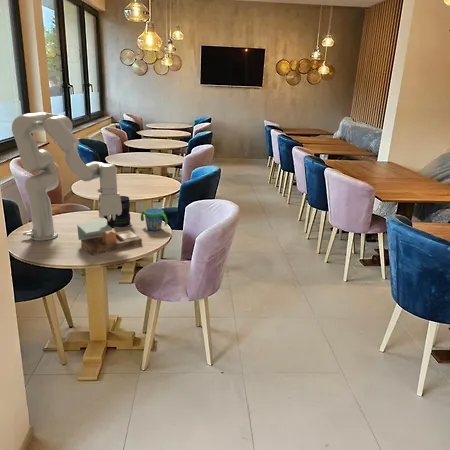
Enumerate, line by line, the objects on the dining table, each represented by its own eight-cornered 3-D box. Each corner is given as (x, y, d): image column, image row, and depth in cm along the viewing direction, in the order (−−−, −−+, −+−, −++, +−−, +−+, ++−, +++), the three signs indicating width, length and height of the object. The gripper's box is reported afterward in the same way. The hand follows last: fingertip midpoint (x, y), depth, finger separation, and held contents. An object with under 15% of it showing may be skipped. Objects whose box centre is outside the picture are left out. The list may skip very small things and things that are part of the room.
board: (91, 255, 188) (90, 248, 187) (81, 245, 198) (80, 239, 197) (141, 244, 202) (141, 238, 201) (130, 235, 212) (129, 229, 211)
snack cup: (171, 229, 223) (171, 211, 220) (159, 234, 215) (159, 216, 211) (149, 223, 230) (148, 206, 227) (136, 228, 222) (135, 210, 218)
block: (106, 246, 196) (105, 234, 194) (102, 242, 200) (102, 231, 197) (116, 244, 199) (116, 232, 196) (112, 240, 202) (112, 229, 200)
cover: (87, 248, 186) (86, 233, 184) (78, 239, 196) (77, 224, 193) (113, 243, 193) (112, 228, 190) (103, 234, 203) (102, 220, 200)
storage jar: (108, 225, 225) (107, 199, 220) (118, 220, 234) (116, 194, 229) (125, 228, 222) (123, 201, 217) (133, 222, 231) (132, 196, 226)
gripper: (95, 194, 184) (98, 232, 190) (127, 190, 192) (129, 227, 199) (90, 190, 189) (93, 228, 196) (120, 186, 198) (122, 222, 204)
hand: (111, 227), depth 197 cm, fingers closed
